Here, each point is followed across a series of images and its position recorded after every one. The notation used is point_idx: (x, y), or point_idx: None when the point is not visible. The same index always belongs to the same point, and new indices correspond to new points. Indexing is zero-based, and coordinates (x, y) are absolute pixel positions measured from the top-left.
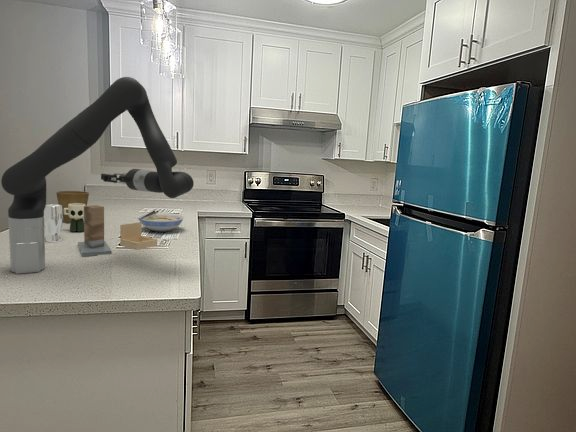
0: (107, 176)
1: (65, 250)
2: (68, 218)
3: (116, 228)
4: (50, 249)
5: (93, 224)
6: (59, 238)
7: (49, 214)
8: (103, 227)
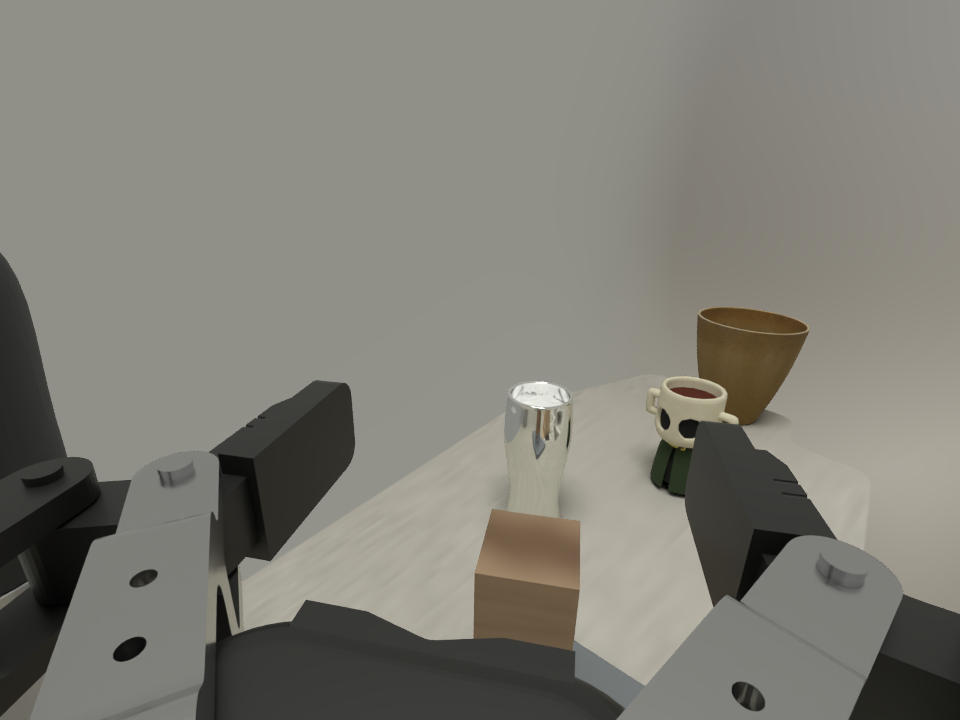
0: (48, 541)
1: None
2: None
3: (850, 532)
4: (424, 592)
5: None
6: None
7: (509, 429)
8: None
